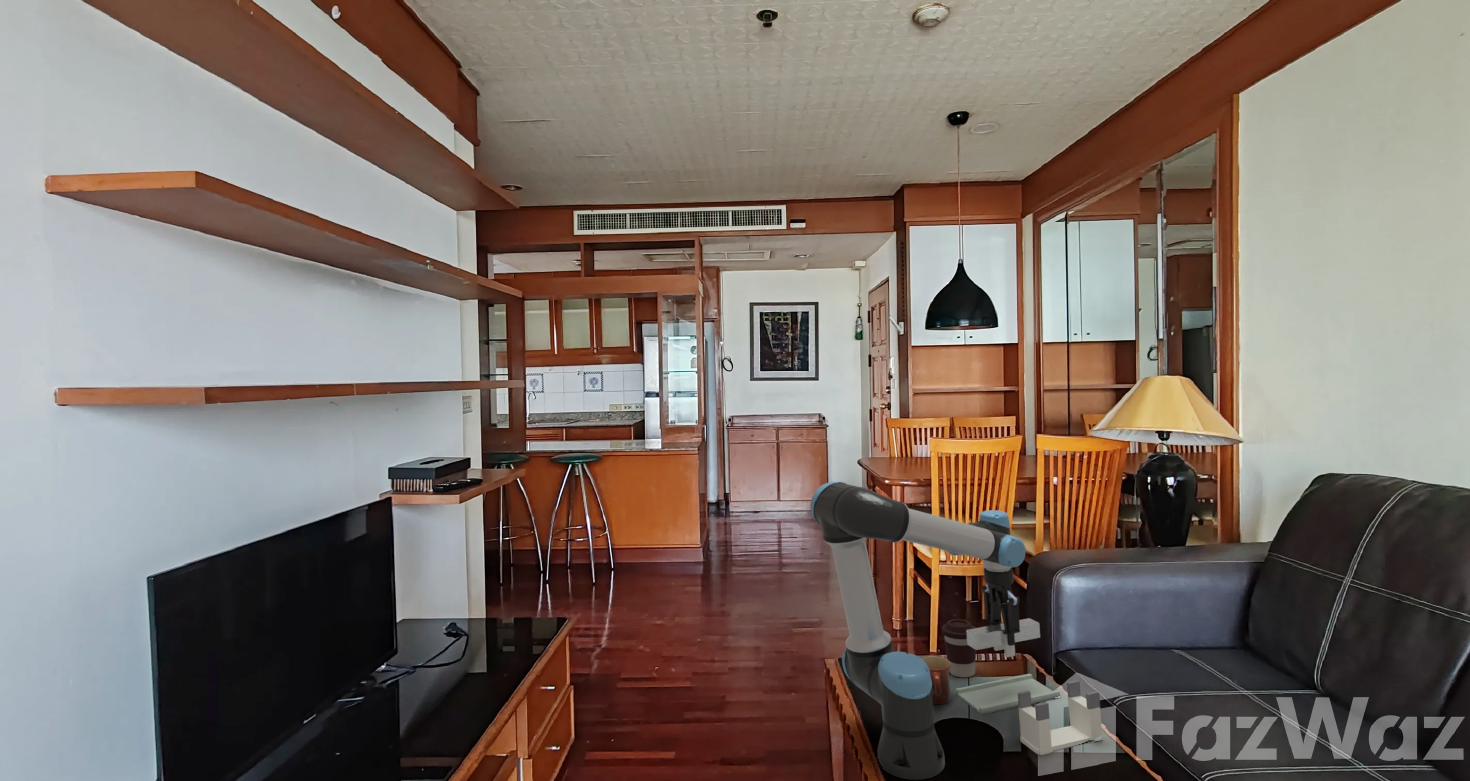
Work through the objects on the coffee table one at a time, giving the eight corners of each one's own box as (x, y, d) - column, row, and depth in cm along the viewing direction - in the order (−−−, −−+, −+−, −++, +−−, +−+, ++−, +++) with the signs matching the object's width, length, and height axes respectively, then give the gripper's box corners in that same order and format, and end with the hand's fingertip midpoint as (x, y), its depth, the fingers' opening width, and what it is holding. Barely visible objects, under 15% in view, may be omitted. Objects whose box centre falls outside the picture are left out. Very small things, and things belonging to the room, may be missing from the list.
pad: (981, 714, 171) (981, 708, 171) (956, 694, 183) (955, 688, 183) (1060, 697, 177) (1059, 691, 177) (1030, 678, 189) (1030, 673, 189)
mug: (919, 691, 186) (916, 655, 186) (951, 692, 184) (948, 655, 184) (922, 712, 174) (919, 674, 174) (957, 713, 173) (954, 675, 172)
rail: (976, 649, 176) (974, 635, 175) (967, 644, 179) (966, 629, 179) (1040, 637, 180) (1039, 622, 180) (1030, 632, 184) (1029, 618, 184)
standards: (1039, 755, 152) (1035, 706, 151) (1019, 740, 158) (1015, 692, 158) (1104, 739, 156) (1100, 691, 156) (1082, 725, 163) (1078, 679, 162)
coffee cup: (956, 662, 203) (953, 614, 203) (986, 671, 195) (982, 621, 195) (938, 673, 196) (934, 623, 196) (968, 683, 189) (964, 631, 189)
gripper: (1030, 574, 172) (1037, 662, 172) (990, 558, 189) (997, 638, 189) (1006, 578, 170) (1012, 667, 171) (967, 562, 187) (974, 643, 187)
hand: (1004, 652), depth 180 cm, fingers closed on rail, 4 cm apart
